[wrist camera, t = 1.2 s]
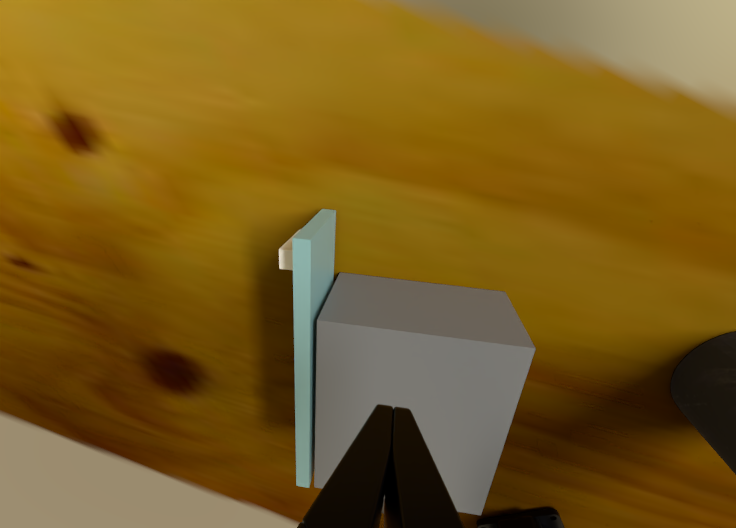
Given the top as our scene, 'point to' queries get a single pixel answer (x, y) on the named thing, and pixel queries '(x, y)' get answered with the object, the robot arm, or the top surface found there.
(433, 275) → the top surface
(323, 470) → the block
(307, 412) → the side door
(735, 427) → the travel mug
